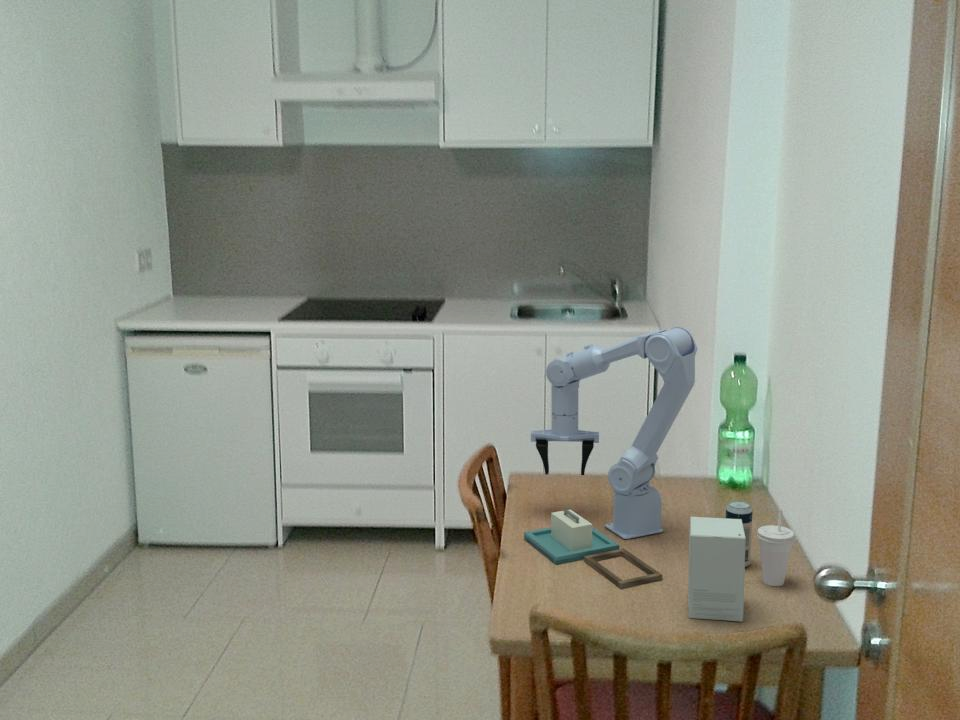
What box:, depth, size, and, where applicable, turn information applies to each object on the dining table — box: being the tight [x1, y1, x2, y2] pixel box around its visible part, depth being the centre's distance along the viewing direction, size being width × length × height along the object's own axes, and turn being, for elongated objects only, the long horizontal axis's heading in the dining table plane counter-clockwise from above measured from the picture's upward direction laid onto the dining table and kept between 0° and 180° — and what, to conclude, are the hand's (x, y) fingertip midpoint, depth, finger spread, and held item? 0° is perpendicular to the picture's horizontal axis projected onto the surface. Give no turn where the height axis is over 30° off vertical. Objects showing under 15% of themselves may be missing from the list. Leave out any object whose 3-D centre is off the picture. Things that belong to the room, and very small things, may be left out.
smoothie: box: [756, 507, 795, 587], centre depth 169 cm, size 6×6×14 cm
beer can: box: [725, 500, 753, 568], centre depth 177 cm, size 5×5×12 cm
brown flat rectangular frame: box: [583, 548, 663, 589], centre depth 176 cm, size 9×13×1 cm, turn 23°
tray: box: [523, 526, 620, 566], centre depth 188 cm, size 14×14×2 cm
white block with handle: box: [550, 508, 593, 551], centre depth 187 cm, size 4×9×6 cm, turn 23°
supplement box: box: [687, 516, 746, 623], centre depth 159 cm, size 9×9×15 cm
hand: (564, 473), depth 203 cm, fingers open, 7 cm apart
